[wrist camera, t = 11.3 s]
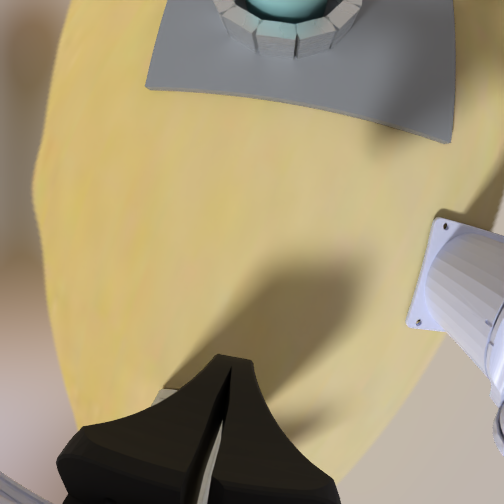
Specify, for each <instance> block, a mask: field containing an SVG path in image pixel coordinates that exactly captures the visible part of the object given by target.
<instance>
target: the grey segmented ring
mask: <svg viewBox="0 0 504 504" xmlns="http://www.w3.org/2000/svg"><path fill="white" fill-rule="evenodd" d="M213 2H214V5H215V7H216V10H217V12H218V14H219V16H220V18H221V21H222V23H223V25H224V27H225V29H226V31H227V34H228V35H230V38H232V39H234V40H235V41H237V42H238V43H240V44H242V45H243V46H245V47H246V48H248V49H249V50H251V51H252V52H254V53H255V54H256V53H257V52H258V51H259V54H260V55H262V56H270V57H277V58H284V59H290V60H293V58H294V54H295V56H296V58H297V60H298V59H302V58H305V57H309V56H312V55H316V54H319V53H323V52H327V51H328V50H329V48H330V49H332V48H333V47H334V46H335V45H336V44H337V43H338V42H339V41H340V40H341V39H342V38H343V37H344V36H345V35H346V34H347V33H348V32H349V31H350V29H351V27H352V25H353V23H354V21H355V18H356V16H357V14H358V12H359V10H360V8H361V6H362V0H337V2H338V6H337V7H336V8H335V9H334V10H332V11H331V12H330V13H329V14H328V15H327V16H326V17H322V18H318V19H314V20H310V21H306V22H302V23H298V24H290V23H284V22H276V21H268V20H261V19H259V18H258V17H256V16H254V15H253V14H251V13H249V12H248V11H246V10H244V9H242V8H241V7H239V6H237V5H236V4H235V0H213Z"/></svg>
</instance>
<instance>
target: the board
mask: <svg viewBox="0 0 504 504" xmlns="http://www.w3.org/2000/svg"><path fill="white" fill-rule="evenodd" d="M235 4H236V5H237V6H239V7H241V8H242V9H244V10H246V11H248V9H247V4H246V0H235ZM337 6H338V2H337V0H328V1H327V5H326V8H325V12H324V15H323V17H326V16H327V15H328V14H329V13H330V12H331V11H332V10H334V9H335V8H336V7H337ZM455 71H456V51H455V23H454V9H453V0H362V6H361V8H360V10H359V12H358V14H357V16H356V18H355V21H354V23H353V25H352V27H351V29H350V31H349V32H348V33H347V34H346V35H345V36H344V37H343V38H342V39H341V40H340V41H339V42H338V43H337V44H336V45H335V46H334V47H333V48H332V49H330V48H329V50H328V51H327V52H323V53H319V54H316V55H312V56H309V57H305V58H302V59H298V60H297V58H296V56H295V54H294V58H293V60H290V59H284V58H277V57H270V56H262V55H260V54H259V51H258V52H257V53H256V54H255V53H254V52H252V51H251V50H249V49H248V48H246V47H245V46H243V45H242V44H240V43H238V42H237V41H235V40H234V39H232V38H230V35H228V34H227V31H226V29H225V27H224V25H223V23H222V21H221V18H220V16H219V14H218V12H217V10H216V7H215V5H214V2H213V0H168V1H167V4H166V7H165V10H164V14H163V17H162V20H161V24H160V27H159V31H158V35H157V38H156V42H155V46H154V50H153V54H152V58H151V62H150V66H149V71H148V75H147V80H146V84H145V87H146V88H148V89H150V90H161V91H183V92H198V93H210V94H221V95H230V96H239V97H247V98H255V99H262V100H269V101H276V102H282V103H288V104H294V105H299V106H305V107H310V108H315V109H320V110H325V111H329V112H334V113H339V114H343V115H347V116H351V117H356V118H360V119H364V120H367V121H371V122H375V123H379V124H382V125H386V126H390V127H393V128H396V129H400V130H403V131H406V132H410V133H413V134H416V135H419V136H422V137H425V138H428V139H431V140H434V141H437V142H440V143H443V144H447V143H451V137H452V127H453V115H454V99H455Z"/></svg>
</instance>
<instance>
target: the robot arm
mask: <svg viewBox="0 0 504 504" xmlns="http://www.w3.org/2000/svg"><path fill="white" fill-rule="evenodd" d="M445 223H446V224H447V227H446V229H444V228H443V225H444V224H445ZM419 319H420V322H419V323H417V324H416V321H417V320H419ZM405 322H406V324H407V326H408V327H410V328H416V329H424V330H433V331H442V332H447V333H448V334H449V335H450V337H452V339H453V340H454V341H455V342H456V343H457V344H458V345H459V346H460V347H461V348H462V349H463V351H464V352H465V353H466V354H467V355H468V356H469V357H470V358H471V359H472V360H473V362H474V363H475V364H476V365H477V366H478V367H479V368H480V369H481V370H482V372H483V373H484V374H485V375H486V376H487V378H488V379H489V380H490V381H491V392H490V395H489V396H490V398H491V399H492V400H493V401H494V403H495V404H496V405H497V407H498V408H499V410H498V412H497V414H496V416H495V419H494V423H493V437H494V441H495V443H496V445H497V448H498V449H499V451H500V452H501V454H502V455H503V456H504V236H502V235H499V234H496V233H493V232H490V231H486V230H483V229H480V228H476V227H473V226H470V225H466V224H463V223H459V222H456V221H452V220H449V219H445V218H441V217H437V218H435V219H434V220H433V223H432V227H431V231H430V236H429V240H428V244H427V248H426V252H425V256H424V260H423V264H422V268H421V271H420V275H419V278H418V282H417V285H416V289H415V292H414V295H413V299H412V302H411V305H410V308H409V311H408V314H407V317H406V321H405ZM222 421H223V422H222ZM221 424H222V432H221V441H220V445H219V449H218V453H217V457H216V461H215V464H214V468H213V472H212V475H211V482H210V488H209V495H208V501H207V504H341V501H340V497H339V494H338V491H337V488H336V485H335V482H334V480H333V479H332V478H331V477H330V476H328V475H327V474H326V473H324V472H323V471H322V470H320V469H319V468H318V467H316V466H315V465H314V464H312V463H311V462H310V461H309V460H308V459H307V458H306V457H305V456H304V455H302V454H301V452H300V451H299V450H298V449H297V448H296V447H295V446H294V445H293V444H292V442H291V441H290V440H289V439H288V438H287V436H286V435H285V434H284V432H283V431H282V430H281V428H280V427H279V425H278V424H277V422H276V421H275V419H274V417H273V416H272V414H271V412H270V410H269V408H268V406H267V404H266V402H265V400H264V398H263V396H262V393H261V391H260V388H259V385H258V382H257V379H256V376H255V372H254V366H253V362H252V361H251V360H247V359H242V358H236V357H231V356H226V355H221V354H217V355H215V356H214V357H213V359H212V360H211V361H210V362H209V363H208V364H207V365H206V367H205V368H204V369H203V370H202V371H201V372H199V373H198V374H197V375H196V376H195V377H194V378H193V379H192V380H191V381H189V382H188V383H187V384H186V385H184V386H183V387H182V388H180V389H179V390H178V391H176V392H175V393H173V394H172V395H170V396H169V397H167V398H166V399H164V400H162V401H161V402H159V403H157V404H155V405H153V406H151V407H149V408H147V409H145V410H143V411H140V412H138V413H136V414H133V415H130V416H127V417H124V418H121V419H117V420H114V421H110V422H105V423H100V424H95V425H89V426H83V427H82V428H81V429H80V430H79V431H78V432H77V433H76V434H75V435H74V436H73V437H72V439H71V440H70V441H69V442H68V444H67V445H66V446H65V448H64V449H63V451H62V452H61V454H60V455H59V456H58V458H57V461H56V465H57V469H58V472H59V474H60V476H61V479H62V481H63V483H64V485H65V488H66V490H67V492H68V495H67V497H66V498H65V500H64V502H63V504H197V502H198V498H199V493H200V489H201V485H202V481H203V477H204V473H205V469H206V466H207V463H208V460H209V458H210V455H211V452H212V449H213V446H214V444H215V441H216V438H217V435H218V432H219V430H220V427H221ZM0 504H53V503H51V502H49V501H48V500H46V499H44V498H42V497H40V496H38V495H37V494H35V493H33V492H32V491H30V490H28V489H27V488H25V487H23V486H22V485H20V484H18V483H17V482H15V481H14V480H12V479H11V478H9V477H8V476H6V475H5V474H3V473H2V472H0Z"/></svg>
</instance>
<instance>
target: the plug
mask: <svg viewBox="0 0 504 504" xmlns="http://www.w3.org/2000/svg"><path fill="white" fill-rule="evenodd" d="M327 1H328V0H246V4H247V9H248V12H249V13H251V14H253V15H254V16H256V17H258V18H259V19H261V20H268V21H276V22H284V23H290V24H298V23H302V22H306V21H310V20H314V19H318V18H322V17H323V15H324V12H325V8H326V5H327Z"/></svg>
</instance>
